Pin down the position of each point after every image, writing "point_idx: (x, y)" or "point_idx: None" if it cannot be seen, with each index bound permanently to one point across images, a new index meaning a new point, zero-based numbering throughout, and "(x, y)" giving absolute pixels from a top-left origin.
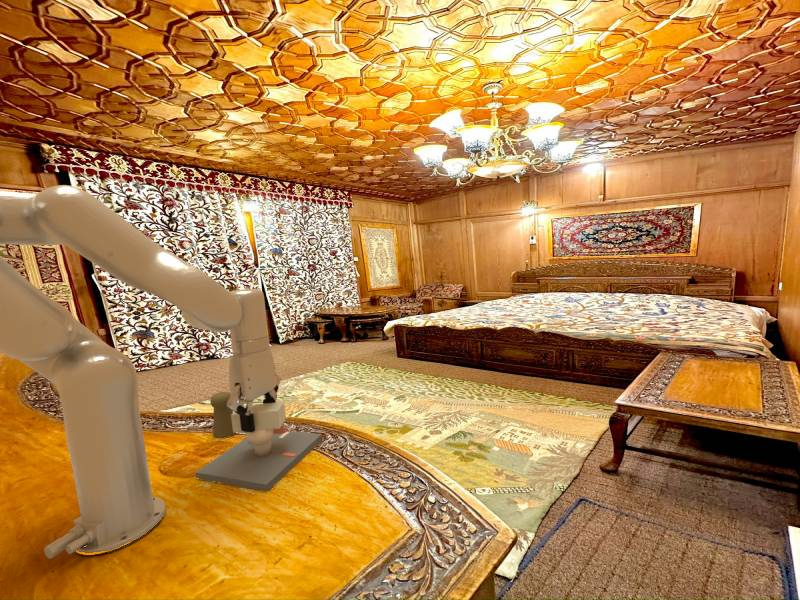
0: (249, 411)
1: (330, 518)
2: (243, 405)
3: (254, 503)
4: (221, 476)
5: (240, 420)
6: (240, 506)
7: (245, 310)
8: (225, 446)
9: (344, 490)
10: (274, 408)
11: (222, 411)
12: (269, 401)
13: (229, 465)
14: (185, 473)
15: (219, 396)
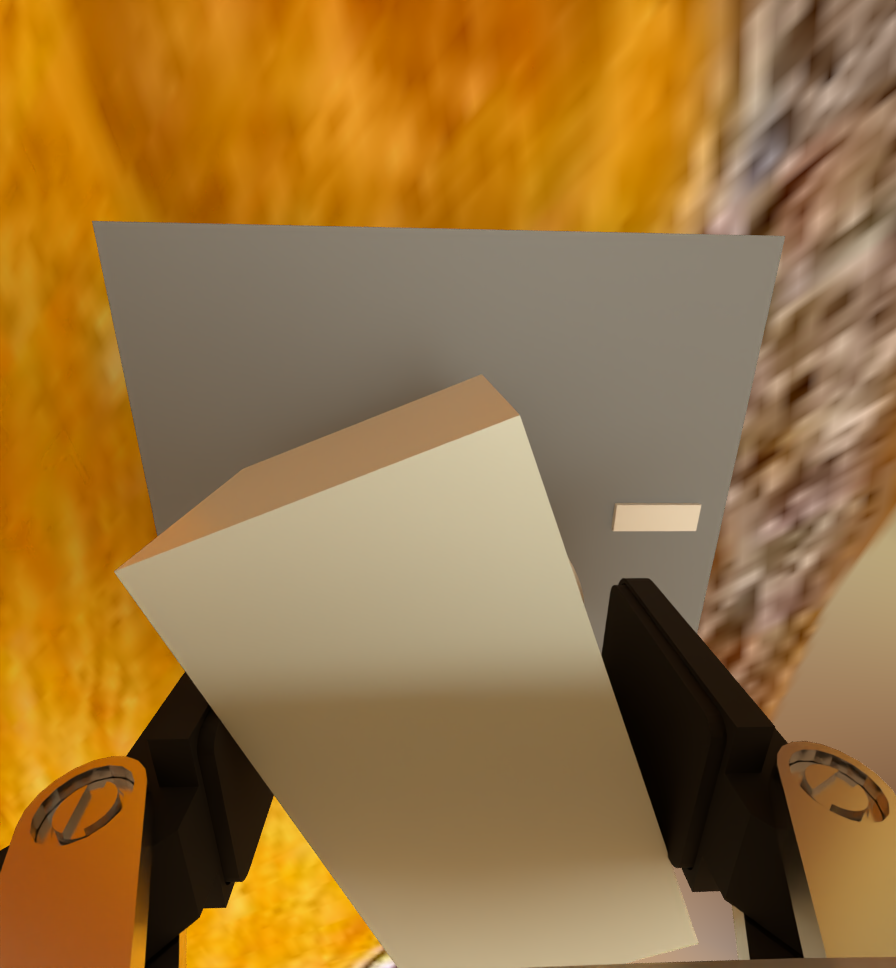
0: (164, 945)
1: (192, 924)
2: (139, 934)
3: (133, 690)
4: (143, 456)
5: (152, 718)
6: (91, 652)
7: None
8: (528, 65)
9: (325, 906)
10: (488, 959)
11: None
12: (688, 824)
13: (250, 412)
14: (132, 60)
15: None
